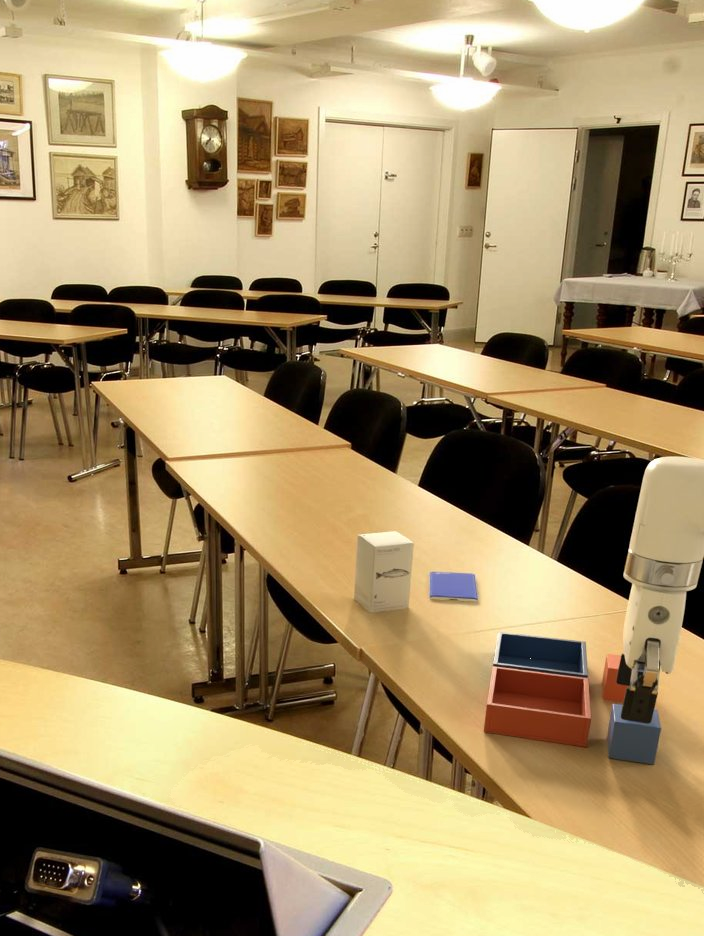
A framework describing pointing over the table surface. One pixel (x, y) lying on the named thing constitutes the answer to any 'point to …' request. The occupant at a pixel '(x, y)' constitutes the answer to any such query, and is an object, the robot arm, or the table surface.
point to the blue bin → (541, 654)
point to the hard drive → (452, 586)
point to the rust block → (612, 680)
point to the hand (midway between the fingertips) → (632, 702)
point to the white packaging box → (383, 571)
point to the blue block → (632, 738)
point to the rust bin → (538, 706)
